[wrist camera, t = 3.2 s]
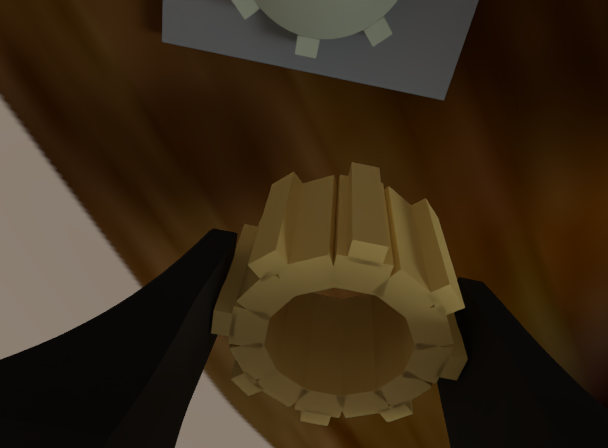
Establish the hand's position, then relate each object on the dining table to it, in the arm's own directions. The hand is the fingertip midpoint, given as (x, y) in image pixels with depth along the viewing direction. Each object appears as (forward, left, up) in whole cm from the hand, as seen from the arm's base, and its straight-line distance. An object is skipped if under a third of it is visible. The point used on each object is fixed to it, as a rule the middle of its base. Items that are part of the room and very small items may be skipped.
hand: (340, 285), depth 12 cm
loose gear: (0, 0, -1) cm, 1 cm away
